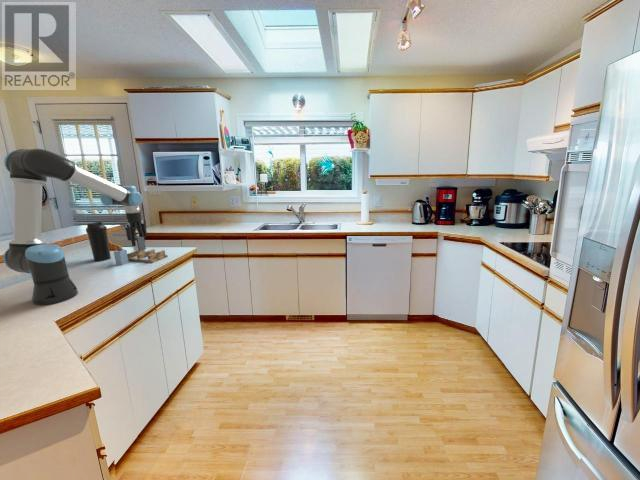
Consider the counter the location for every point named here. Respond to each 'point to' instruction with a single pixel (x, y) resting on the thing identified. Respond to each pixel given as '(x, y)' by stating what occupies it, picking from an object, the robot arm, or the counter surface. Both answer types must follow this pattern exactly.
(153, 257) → the slot rack
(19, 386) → the counter surface
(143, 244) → the plug charcoal
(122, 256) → the plug blue
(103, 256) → the water bottle
